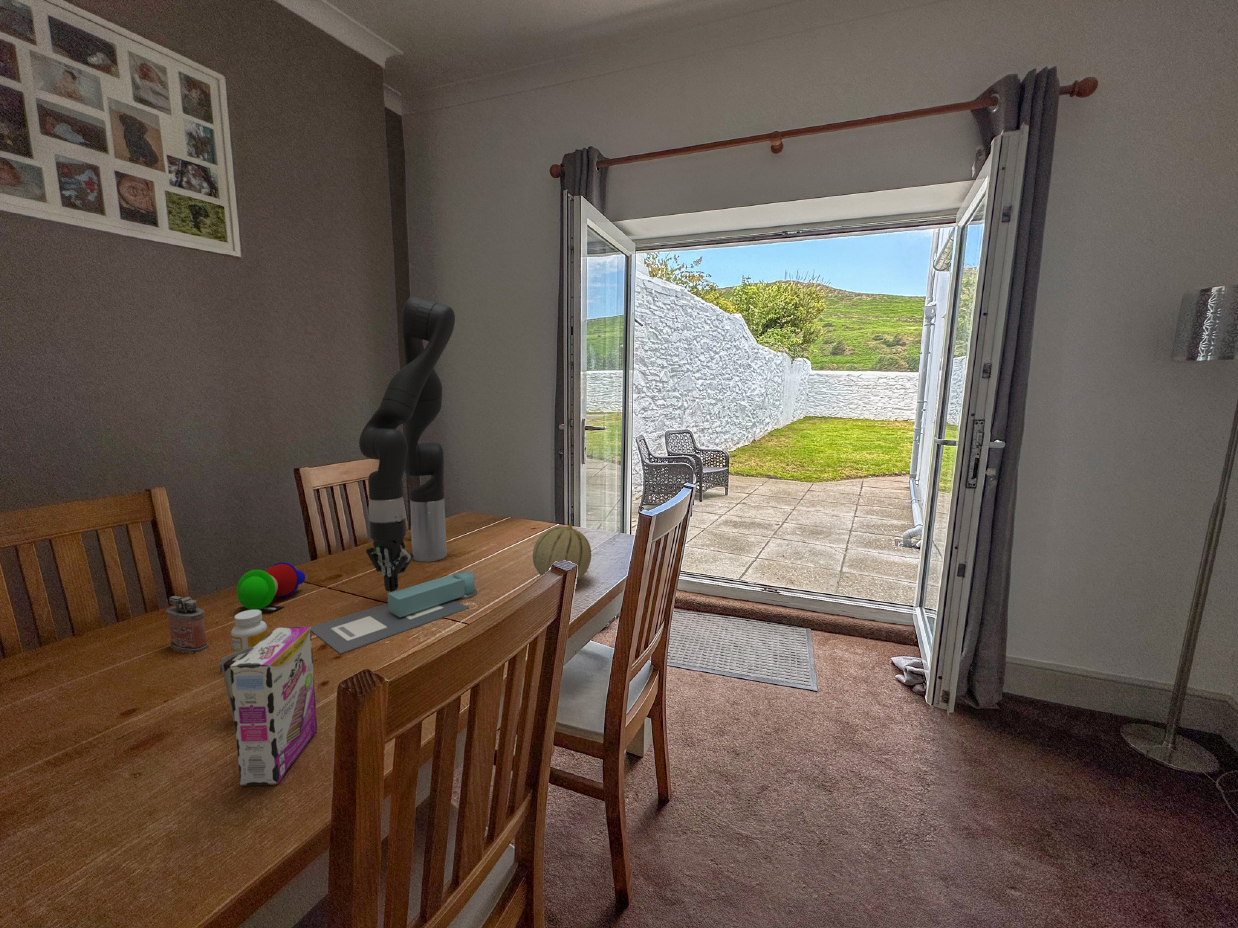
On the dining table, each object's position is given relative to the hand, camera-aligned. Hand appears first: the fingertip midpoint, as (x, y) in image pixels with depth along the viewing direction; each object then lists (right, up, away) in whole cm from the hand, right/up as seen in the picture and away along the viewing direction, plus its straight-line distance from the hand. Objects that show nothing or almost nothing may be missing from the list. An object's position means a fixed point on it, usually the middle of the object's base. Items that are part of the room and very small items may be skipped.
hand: (391, 590), depth 125 cm
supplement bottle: (-14, -7, -27) cm, 31 cm away
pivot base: (+15, -2, +6) cm, 16 cm away
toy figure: (-27, -3, 0) cm, 28 cm away
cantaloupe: (+38, -1, +14) cm, 40 cm away
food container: (-1, -10, -41) cm, 42 cm away
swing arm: (+10, -2, 0) cm, 10 cm away
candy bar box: (+6, -11, -51) cm, 52 cm away
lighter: (-30, -6, -21) cm, 37 cm away
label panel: (+3, -4, -7) cm, 9 cm away
